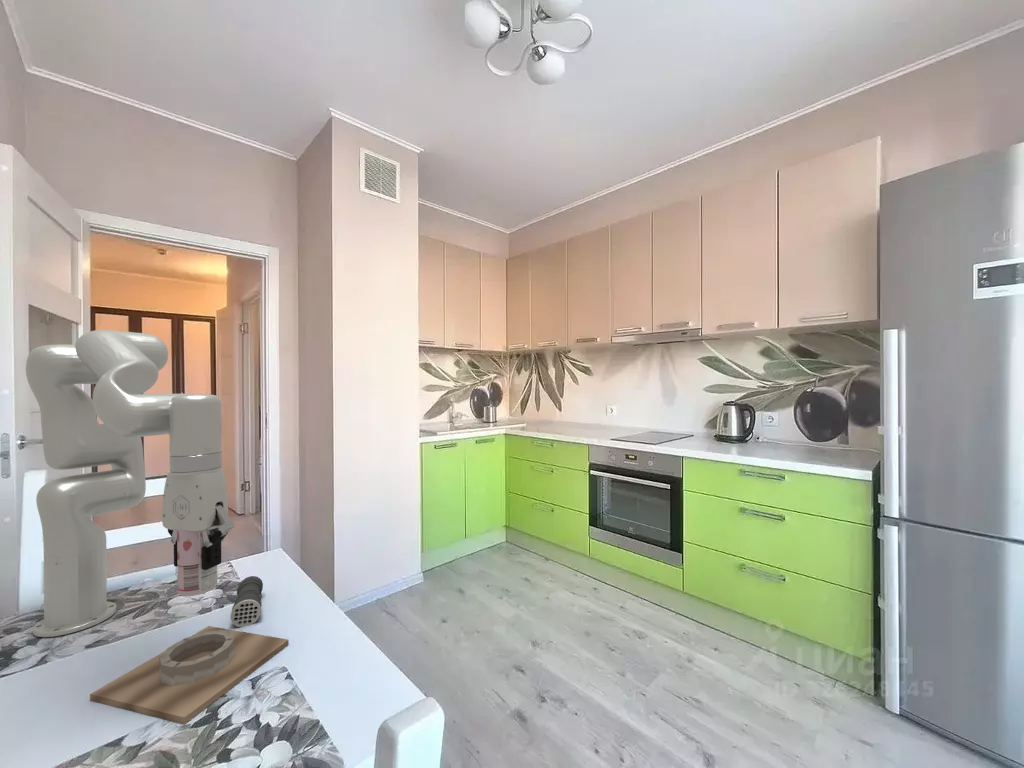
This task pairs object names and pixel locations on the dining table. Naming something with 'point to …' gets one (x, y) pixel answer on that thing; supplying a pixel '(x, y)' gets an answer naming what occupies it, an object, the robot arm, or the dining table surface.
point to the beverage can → (193, 564)
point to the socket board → (189, 694)
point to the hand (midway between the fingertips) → (197, 564)
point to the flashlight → (247, 602)
